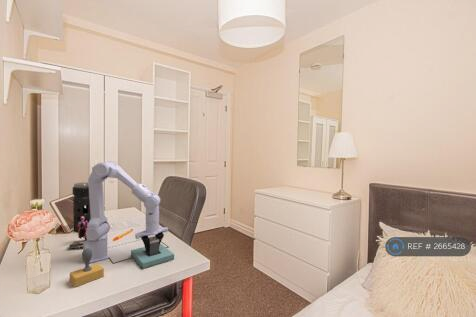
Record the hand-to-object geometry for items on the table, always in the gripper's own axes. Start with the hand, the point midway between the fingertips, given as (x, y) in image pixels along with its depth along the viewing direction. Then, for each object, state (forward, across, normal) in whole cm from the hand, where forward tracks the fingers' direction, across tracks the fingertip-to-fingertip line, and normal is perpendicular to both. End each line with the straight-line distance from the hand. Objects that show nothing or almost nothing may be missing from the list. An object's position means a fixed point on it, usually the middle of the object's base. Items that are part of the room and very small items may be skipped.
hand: (152, 250), depth 110 cm
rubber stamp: (+4, -26, -2) cm, 26 cm away
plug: (+2, 0, 0) cm, 2 cm away
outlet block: (+3, 0, 0) cm, 3 cm away
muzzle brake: (+4, -19, +60) cm, 63 cm away
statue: (+4, -23, +35) cm, 42 cm away
